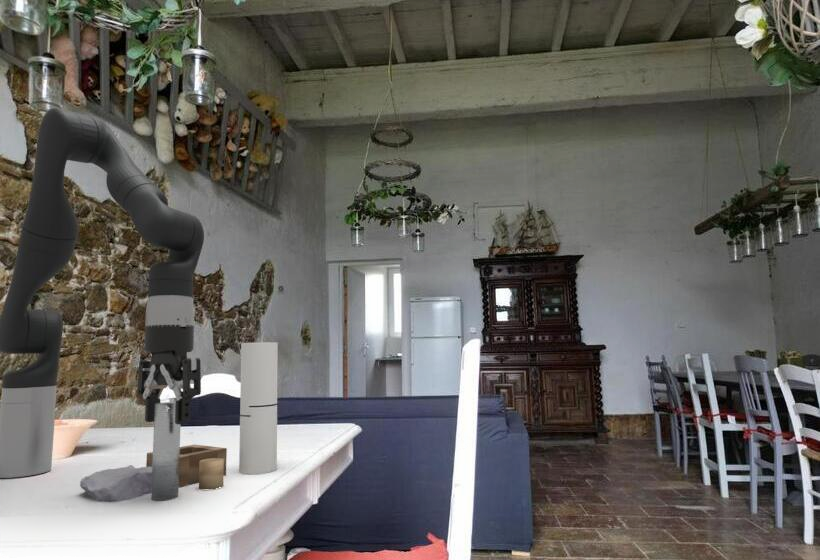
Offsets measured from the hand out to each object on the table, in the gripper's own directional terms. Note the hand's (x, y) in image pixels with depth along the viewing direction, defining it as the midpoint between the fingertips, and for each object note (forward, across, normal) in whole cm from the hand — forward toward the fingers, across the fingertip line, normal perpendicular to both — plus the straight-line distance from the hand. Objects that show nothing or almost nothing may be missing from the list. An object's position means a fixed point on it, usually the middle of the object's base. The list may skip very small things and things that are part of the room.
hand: (167, 422), depth 87 cm
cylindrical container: (+12, -2, +21) cm, 24 cm away
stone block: (+12, -11, -2) cm, 16 cm away
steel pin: (+12, 0, 0) cm, 12 cm away
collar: (+12, -9, +10) cm, 18 cm away
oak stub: (+12, +1, +8) cm, 14 cm away
